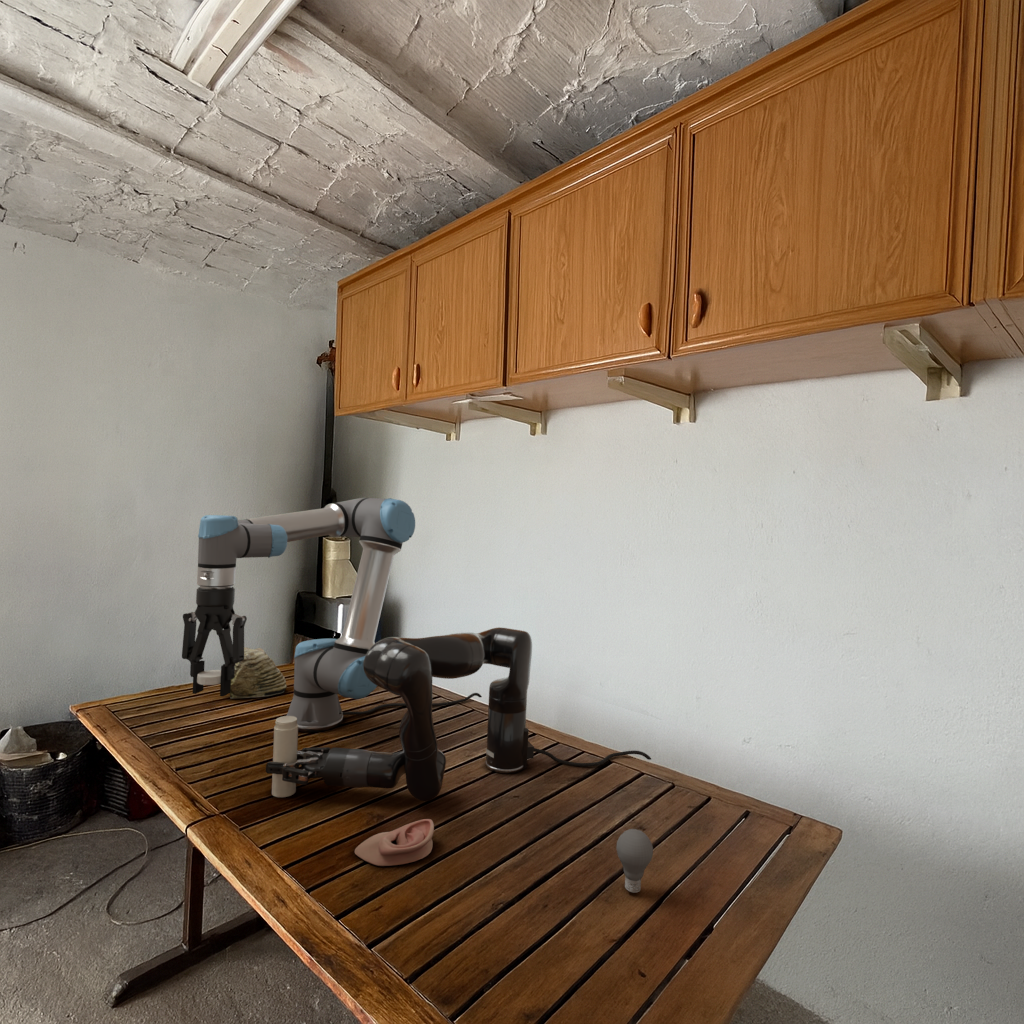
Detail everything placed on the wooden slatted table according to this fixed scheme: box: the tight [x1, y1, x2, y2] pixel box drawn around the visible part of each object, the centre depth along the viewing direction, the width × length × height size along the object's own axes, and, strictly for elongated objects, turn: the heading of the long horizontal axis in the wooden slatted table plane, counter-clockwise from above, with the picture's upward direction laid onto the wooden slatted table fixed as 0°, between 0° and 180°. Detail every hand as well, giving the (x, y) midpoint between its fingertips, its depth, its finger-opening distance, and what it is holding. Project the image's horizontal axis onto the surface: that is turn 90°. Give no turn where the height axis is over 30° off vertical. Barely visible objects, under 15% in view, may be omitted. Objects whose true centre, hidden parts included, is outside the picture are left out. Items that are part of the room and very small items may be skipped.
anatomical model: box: [354, 818, 435, 867], centre depth 115 cm, size 13×4×12 cm
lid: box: [197, 669, 221, 686], centre depth 137 cm, size 6×6×2 cm
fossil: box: [229, 646, 288, 699], centre depth 198 cm, size 9×18×15 cm, turn 132°
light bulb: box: [615, 828, 654, 894], centre depth 106 cm, size 6×6×10 cm
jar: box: [271, 715, 299, 798], centre depth 135 cm, size 5×5×16 cm
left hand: (211, 692), depth 137 cm, fingers closed on lid, 6 cm apart
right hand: (272, 762), depth 135 cm, fingers closed on jar, 5 cm apart
